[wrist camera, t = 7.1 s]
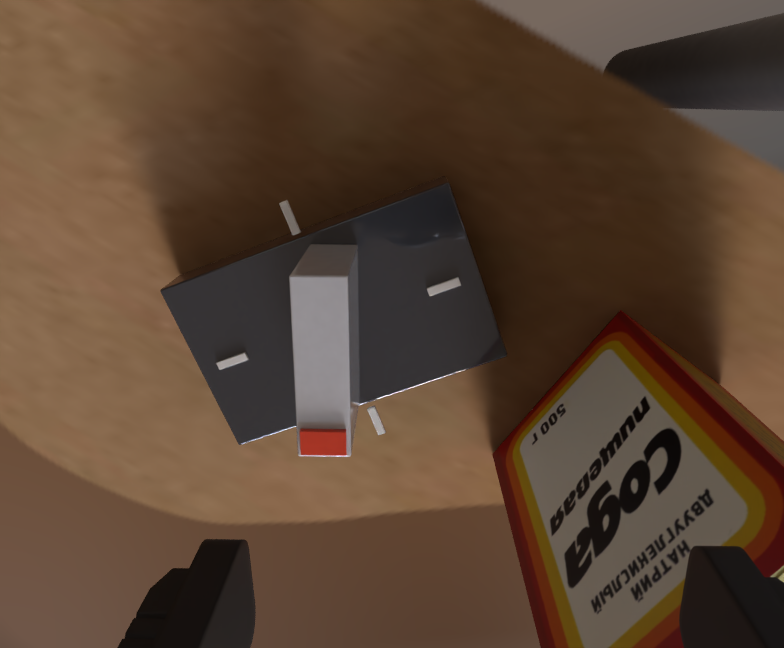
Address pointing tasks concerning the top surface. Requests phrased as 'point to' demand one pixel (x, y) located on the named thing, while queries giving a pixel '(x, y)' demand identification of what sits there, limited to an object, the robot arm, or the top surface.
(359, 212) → the rotary selector switch
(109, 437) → the top surface
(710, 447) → the baking soda box
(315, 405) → the white rectangular block
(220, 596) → the robot arm
